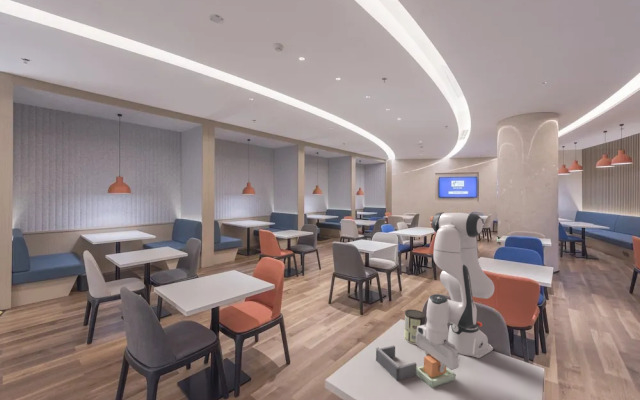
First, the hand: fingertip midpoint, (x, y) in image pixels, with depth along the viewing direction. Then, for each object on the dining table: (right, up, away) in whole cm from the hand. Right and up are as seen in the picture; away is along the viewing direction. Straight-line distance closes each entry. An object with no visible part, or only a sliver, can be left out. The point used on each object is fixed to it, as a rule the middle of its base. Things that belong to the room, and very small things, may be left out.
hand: (435, 367), depth 117 cm
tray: (0, -4, 0) cm, 4 cm away
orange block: (0, -2, 0) cm, 2 cm away
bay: (-16, -3, +5) cm, 17 cm away
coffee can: (+1, -4, +30) cm, 30 cm away
